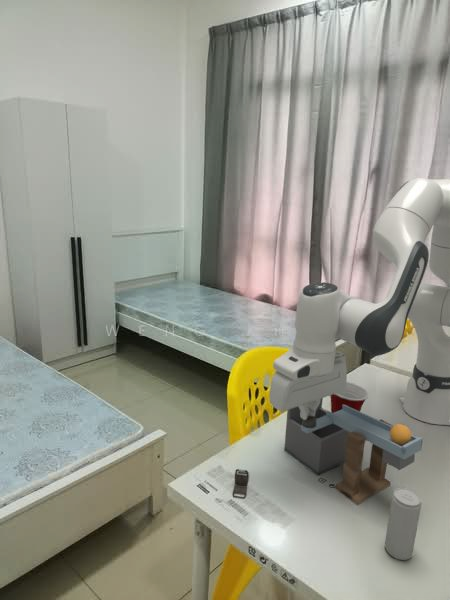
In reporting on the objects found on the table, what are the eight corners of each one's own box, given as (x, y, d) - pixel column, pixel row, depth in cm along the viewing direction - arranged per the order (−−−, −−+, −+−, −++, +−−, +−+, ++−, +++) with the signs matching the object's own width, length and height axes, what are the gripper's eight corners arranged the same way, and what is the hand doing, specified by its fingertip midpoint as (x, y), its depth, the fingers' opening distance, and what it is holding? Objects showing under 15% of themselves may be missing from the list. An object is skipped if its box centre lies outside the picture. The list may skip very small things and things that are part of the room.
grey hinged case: (236, 473, 99) (237, 457, 98) (249, 474, 99) (250, 458, 98) (231, 498, 91) (232, 481, 90) (245, 500, 91) (246, 483, 90)
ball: (398, 439, 89) (396, 420, 89) (416, 443, 85) (414, 424, 85) (386, 444, 87) (384, 425, 86) (404, 449, 83) (402, 429, 83)
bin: (316, 436, 115) (321, 382, 110) (350, 459, 105) (358, 400, 101) (284, 450, 108) (288, 392, 104) (317, 475, 99) (324, 413, 95)
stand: (367, 470, 101) (375, 416, 98) (389, 485, 96) (398, 428, 93) (335, 488, 95) (342, 430, 91) (357, 504, 90) (365, 444, 86)
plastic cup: (366, 440, 113) (371, 400, 110) (324, 435, 115) (329, 395, 112) (361, 420, 124) (366, 382, 121) (323, 415, 126) (327, 377, 123)
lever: (340, 423, 103) (342, 401, 102) (420, 463, 86) (422, 437, 85) (298, 440, 95) (299, 417, 94) (377, 488, 79) (379, 460, 77)
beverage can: (389, 536, 82) (398, 483, 79) (415, 550, 79) (425, 495, 76) (380, 552, 78) (389, 496, 75) (407, 566, 76) (417, 510, 72)
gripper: (335, 345, 99) (329, 399, 102) (267, 362, 87) (262, 422, 91) (357, 355, 94) (349, 411, 97) (287, 374, 82) (282, 437, 86)
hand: (307, 417), depth 94 cm, fingers closed, pressing on lever
